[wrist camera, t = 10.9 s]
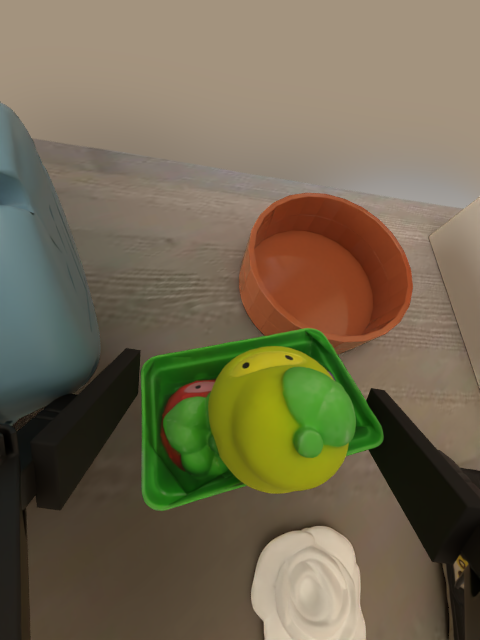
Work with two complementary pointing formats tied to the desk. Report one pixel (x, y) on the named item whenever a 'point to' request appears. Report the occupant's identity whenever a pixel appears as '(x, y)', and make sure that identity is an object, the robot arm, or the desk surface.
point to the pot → (324, 271)
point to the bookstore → (462, 274)
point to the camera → (451, 576)
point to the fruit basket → (249, 418)
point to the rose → (309, 587)
